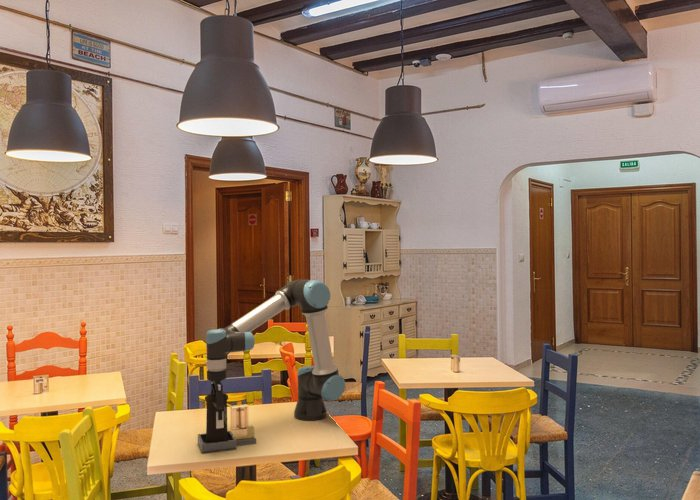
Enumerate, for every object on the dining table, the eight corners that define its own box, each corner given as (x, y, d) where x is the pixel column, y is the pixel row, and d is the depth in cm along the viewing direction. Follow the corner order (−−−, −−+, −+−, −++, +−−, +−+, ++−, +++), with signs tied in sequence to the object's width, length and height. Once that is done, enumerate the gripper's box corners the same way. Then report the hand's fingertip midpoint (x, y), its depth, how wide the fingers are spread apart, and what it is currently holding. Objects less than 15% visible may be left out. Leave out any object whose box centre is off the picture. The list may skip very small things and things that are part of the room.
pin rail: (253, 440, 249) (253, 435, 249) (256, 443, 245) (256, 438, 245) (233, 442, 246) (233, 437, 246) (235, 445, 242) (234, 441, 242)
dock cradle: (230, 439, 250) (230, 430, 250) (236, 449, 238) (236, 440, 238) (197, 443, 246) (197, 434, 246) (201, 453, 233) (201, 444, 233)
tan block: (252, 438, 248) (252, 425, 248) (253, 439, 246) (253, 427, 246) (234, 440, 245) (234, 427, 245) (234, 441, 243) (234, 429, 243)
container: (223, 448, 237) (223, 397, 237) (201, 447, 238) (201, 396, 238) (231, 441, 245) (231, 391, 245) (210, 440, 247) (210, 390, 247)
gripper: (202, 364, 252) (203, 415, 252) (211, 376, 229) (212, 433, 229) (221, 362, 255) (222, 413, 255) (231, 374, 231) (232, 430, 232)
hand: (217, 423), depth 242 cm, fingers open, 13 cm apart
